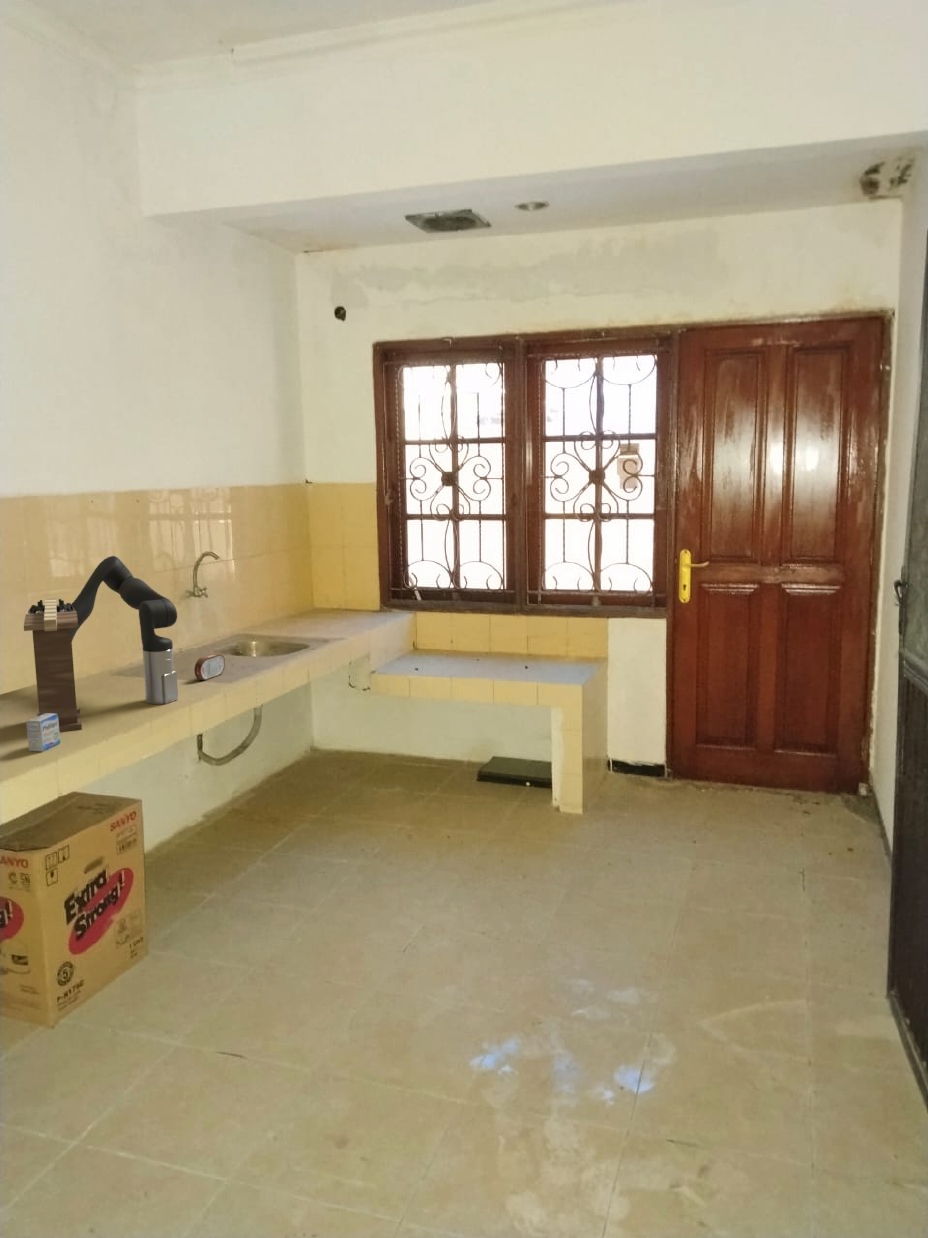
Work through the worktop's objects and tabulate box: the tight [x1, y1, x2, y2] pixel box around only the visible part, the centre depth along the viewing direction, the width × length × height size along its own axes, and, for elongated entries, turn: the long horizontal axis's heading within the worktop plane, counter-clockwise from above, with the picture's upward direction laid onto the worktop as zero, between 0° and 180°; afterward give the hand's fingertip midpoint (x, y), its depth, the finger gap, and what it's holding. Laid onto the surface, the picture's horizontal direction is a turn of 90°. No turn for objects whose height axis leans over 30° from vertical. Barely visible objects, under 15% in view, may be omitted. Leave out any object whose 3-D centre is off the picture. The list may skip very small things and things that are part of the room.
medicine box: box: [25, 713, 61, 753], centre depth 249 cm, size 8×4×9 cm, turn 170°
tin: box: [194, 652, 226, 681], centre depth 327 cm, size 15×3×8 cm, turn 159°
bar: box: [44, 598, 58, 631], centre depth 264 cm, size 40×3×3 cm, turn 24°
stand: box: [23, 611, 83, 733], centre depth 268 cm, size 20×14×32 cm
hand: (50, 602), depth 276 cm, fingers open, 4 cm apart
